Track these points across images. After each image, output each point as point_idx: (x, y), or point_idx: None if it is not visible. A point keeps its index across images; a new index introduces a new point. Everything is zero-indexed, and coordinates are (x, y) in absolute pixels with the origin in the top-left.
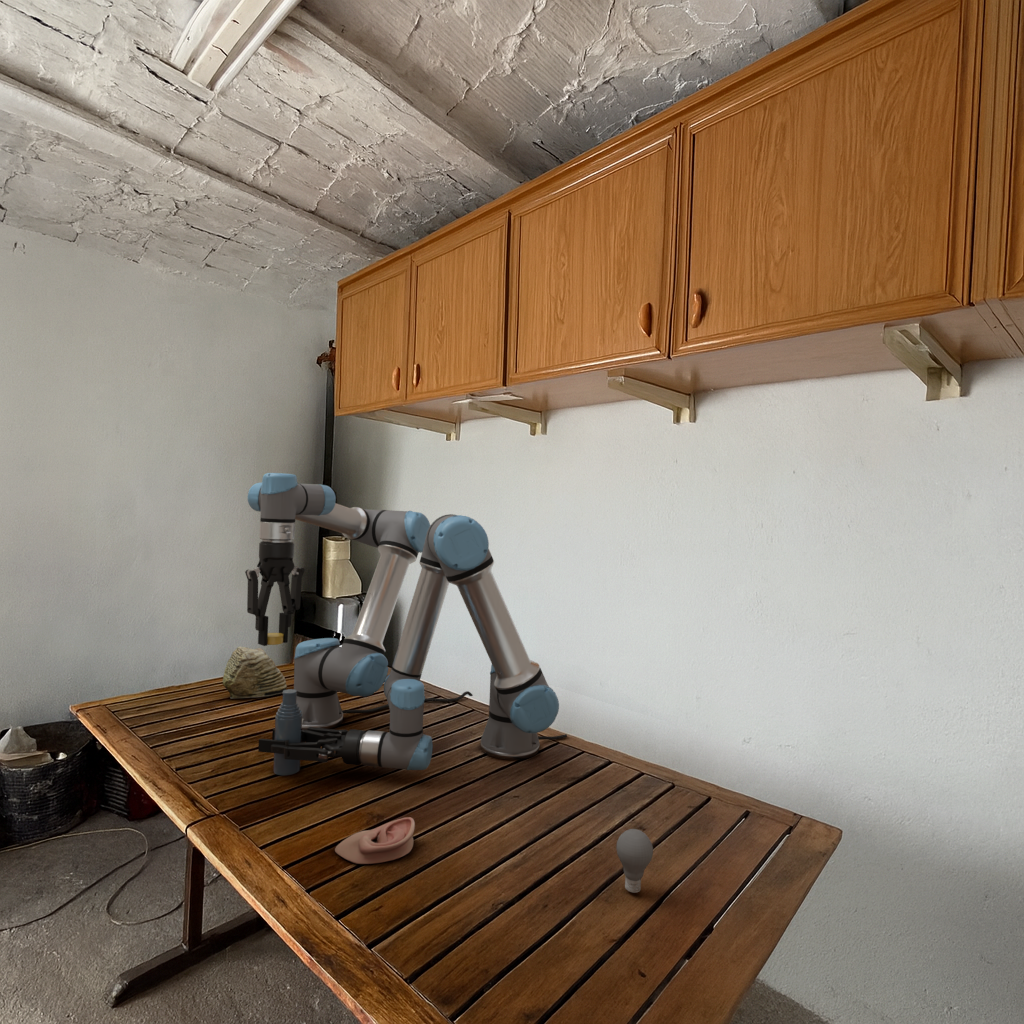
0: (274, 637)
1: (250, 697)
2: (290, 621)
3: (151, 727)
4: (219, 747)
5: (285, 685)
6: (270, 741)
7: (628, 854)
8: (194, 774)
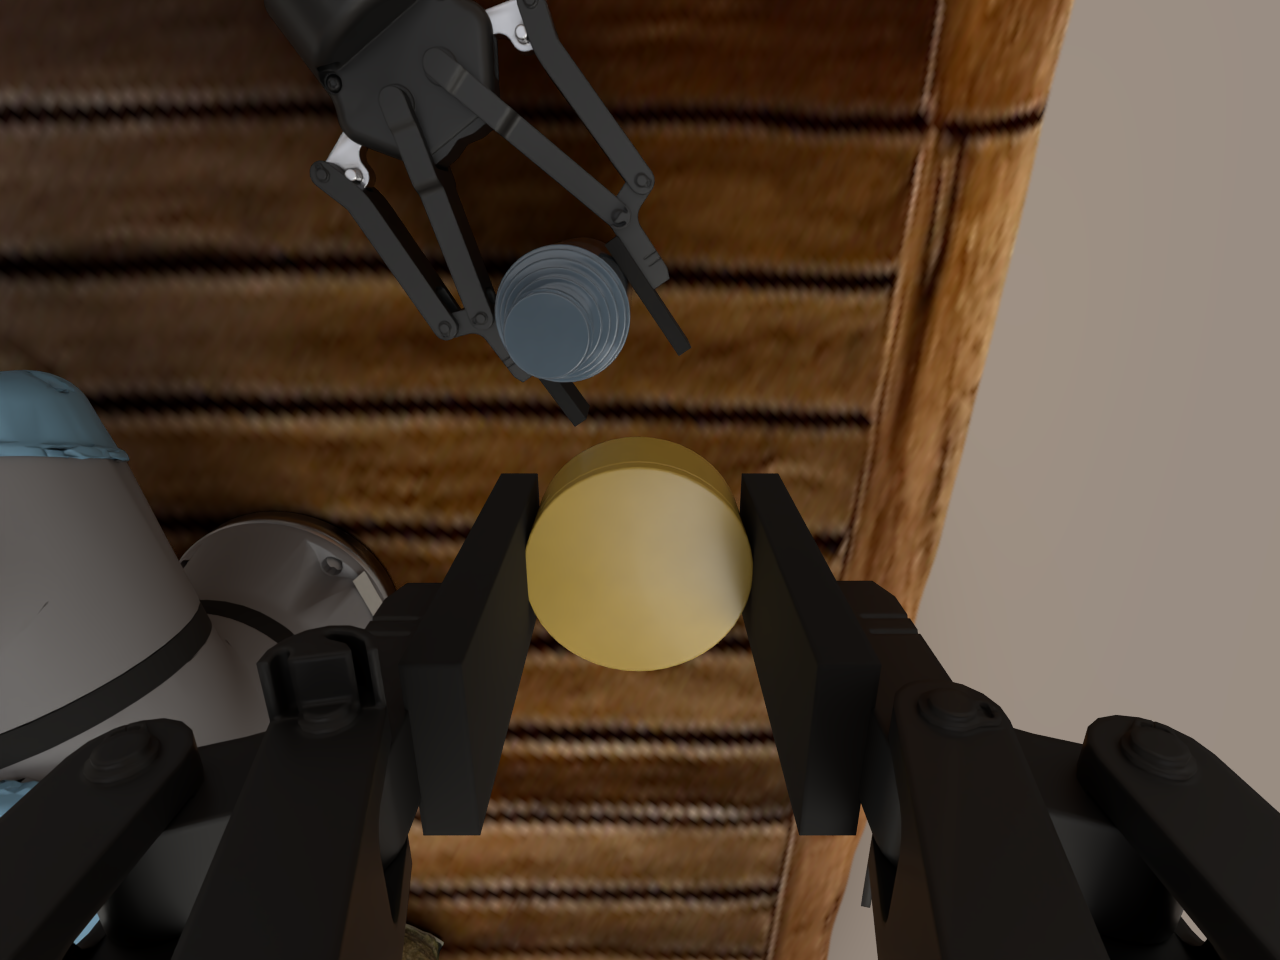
0: (684, 473)
1: None
2: (383, 624)
3: (732, 866)
4: None
5: None
6: (660, 302)
7: None
8: (822, 473)
